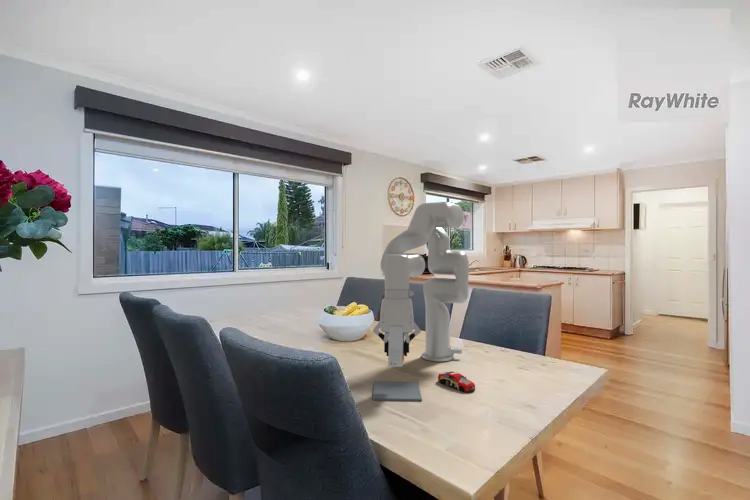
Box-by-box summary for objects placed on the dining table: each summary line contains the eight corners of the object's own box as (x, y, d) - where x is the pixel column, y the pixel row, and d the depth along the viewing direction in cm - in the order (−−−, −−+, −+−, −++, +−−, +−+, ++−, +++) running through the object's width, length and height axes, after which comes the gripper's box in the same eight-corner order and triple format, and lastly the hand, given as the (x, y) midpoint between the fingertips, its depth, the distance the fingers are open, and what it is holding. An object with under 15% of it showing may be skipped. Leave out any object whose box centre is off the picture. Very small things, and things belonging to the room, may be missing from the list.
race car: (478, 391, 117) (479, 378, 117) (467, 395, 114) (467, 382, 114) (447, 379, 128) (447, 367, 128) (435, 382, 125) (435, 370, 125)
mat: (418, 383, 123) (418, 381, 123) (421, 401, 109) (421, 398, 109) (374, 383, 123) (374, 381, 123) (372, 400, 109) (372, 398, 109)
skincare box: (402, 367, 112) (402, 326, 113) (388, 366, 113) (388, 326, 113) (404, 361, 118) (404, 322, 118) (391, 360, 119) (391, 322, 119)
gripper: (423, 293, 119) (423, 352, 119) (369, 293, 120) (369, 351, 120) (426, 296, 112) (425, 358, 112) (368, 296, 113) (368, 358, 113)
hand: (396, 354), depth 116 cm, fingers closed on skincare box, 4 cm apart
